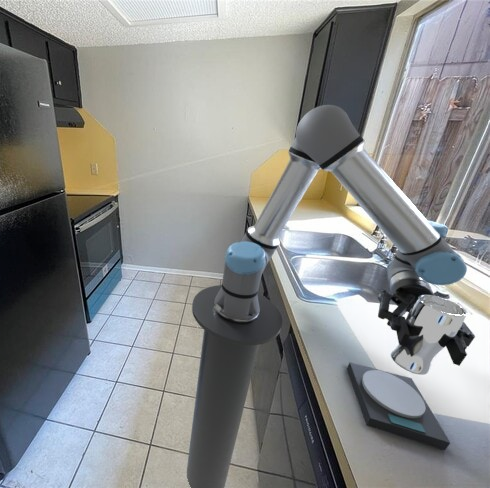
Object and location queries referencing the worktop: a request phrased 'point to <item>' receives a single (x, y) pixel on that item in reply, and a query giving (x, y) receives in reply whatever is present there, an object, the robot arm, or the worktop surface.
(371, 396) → the scale
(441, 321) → the beer glass
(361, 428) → the worktop surface
